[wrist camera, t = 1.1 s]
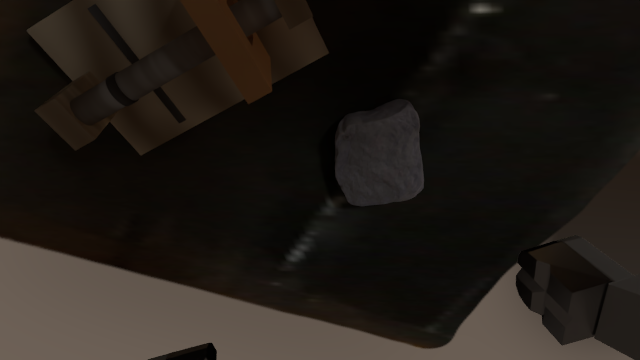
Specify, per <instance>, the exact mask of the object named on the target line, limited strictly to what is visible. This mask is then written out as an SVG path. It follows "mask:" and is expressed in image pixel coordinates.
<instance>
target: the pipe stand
mask: <svg viewBox="0 0 640 360" xmlns="http://www.w3.org/2000/svg"><path fill="white" fill-rule="evenodd" d="M237 1H238V2H237V3H235V4H233V5H231V6H230V7H229V8H230V10H231V12H232V13H233V15H234V17H235V18H236V20H237V22H238V23H239V25H240V27H241V28H242V30H243V32H244V33H245V35H246V37H248V36H250V35H251V34H253V33H255V32H256V34H257V35H258V37H259V39H260V41H261V42H262V44H263V46H264V48H265V49H266V51H267V53H268V55H269V56H270V60H271V78H272V84H273V83H275V82H277V81H279V80H281V79H282V78H284V77H286V76H288V75H290V74H292V73H293V72H295V71H297V70H299V69H301V68H303V67H304V66H306V65H308V64H310V63H312V62H314V61H315V60H317V59H319V58H321V57H323V56H325V55H327V54H328V53H329V52H328V50H327V48H326V46H325V43H324V41H323V39H322V37H321V35H320V33H319V31H318V29H317V27H316V25H315V23H314V20H313V18H312V17H313V14H312V12H311V10H310V8H309V6H308V4H307V2H306V0H237ZM26 31H27V32H28V33H29V34H30V35H31V36H32V37H33V39H34V40H35V41H36V42H37V43H38V44H39V45H40V46H41V47H42V48H43V49H44V51H45V52H46V53H47V54H48V55H49V56H50V57H51V58H52V59H53V60H54V61H55V63H56V64H57V65H58V66H59V67H60V68H61V69H62V70H63V71H64V72H65V73H66V74H67V76H68V77H69V78H70V79H71V80H72V82H71V83H70V84H68V85H67V86H66V87H64V88H63V89H62V90H61V91H59V92H58V93H57V94H55V95H54V96H53V97H51V98H50V99H49V100H47V101H46V102H45V103H44V104H42V105H41V106H40V107H38V108H37V109H36V110H34V111H35V112H36V113H37V114H38V115H39V116H40V117H41V118H42V119H43V120H44V121H45V122H46V123H47V124H48V125H49V126H50V127H51V128H52V129H53V130H55V131H56V132H57V133H58V134H59V135H60V136H61V137H62V138H63V139H64V140H65V141H66V142H67V143H68V144H69V145H70V146H71V147H72V148H73V149H74V150H75V151H76V150H78V149H79V148H81V147H83V146H85V145H86V144H88V143H90V142H92V141H93V140H95V139H96V138H97V137H98V135H99V134H100V133H101V132H102V130H103V129H104V128H105V127H106V126H107V124H108V123H109V122H111V124H112V125H113V126H114V127H115V128H116V129H117V130H118V131H119V132H120V133H121V134H122V136H123V137H124V138H125V139H126V140H127V141H128V142H129V143H130V144H131V145H132V146H133V148H134V149H135V150H136V151H137V152H138V153H139V154H140V155H143V154H145V153H146V152H148V151H150V150H152V149H154V148H156V147H158V146H159V145H161V144H163V143H165V142H167V141H169V140H170V139H172V138H174V137H176V136H178V135H180V134H181V133H183V132H185V131H187V130H189V129H191V128H192V127H194V126H196V125H198V124H200V123H202V122H203V121H205V120H207V119H209V118H211V117H213V116H214V115H216V114H218V113H220V112H222V111H224V110H225V109H227V108H229V107H231V106H233V105H235V104H236V103H238V102H240V101H242V100H244V97H243V95H242V94H241V92H240V91H239V89H238V88H237V86H236V85H235V83H234V82H233V80H232V79H231V77H230V76H229V74H228V73H227V71H226V70H225V68H224V67H223V65H222V63H221V62H220V60H219V59H218V57H217V56H216V54H215V53H214V51H213V50H212V48H211V47H210V45H209V44H208V42H207V41H206V39H205V38H204V36H203V35H202V33H201V32H200V30H199V28H198V27H197V25H196V24H195V22H194V21H193V19H192V18H191V16H190V15H189V13H188V12H187V10H186V9H185V7H184V6H183V4H182V3H181V1H180V0H73V1H71V2H70V3H68V4H67V5H65V6H63V7H62V8H60V9H59V10H57V11H56V12H54V13H52V14H51V15H49V16H48V17H46V18H45V19H43V20H41V21H40V22H38V23H37V24H35V25H34V26H32V27H31V28H29V29H27V30H26Z"/></svg>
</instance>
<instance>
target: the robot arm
mask: <svg viewBox="0 0 640 360" xmlns="http://www.w3.org/2000/svg"><path fill="white" fill-rule="evenodd" d="M517 263H518V264H519V265H520V266H521V267H522V268H521V270H520V271H519V272H518V274H517V275H516V287H517V290H518V293H519V296H520V297H521V298H522V300H523V302H524V303H525V304H526V306H527V307H528V308H529V309H530V310H531V311H533V312H536V313H538V314H540V315H542V323H543V325H544V326H545V327H546V328H547V329H548V330H549V332H550V333H551V334H552V335H553V336H554V337H555V338H556V339H557V341H558V342H559V343H560V344H561V345H565V344H569V343H572V342H576V341H579V340H583V339H586V338H590V337H593V336H595V337H594V338H595V339H597V340H599V341H601V342H602V343H604V344H606V345H608V346H610V347H612V348H614V349H616V350H617V351H619V352H621V353H623V354H625V355H627V356H629V357H631V358H633V359H634V360H640V274H638V275H633V274H631V273H630V272H629V271H627V270H626V269H625V268H623V267H622V266H620V265H619V264H618V263H616V262H615V261H614V260H612V259H611V258H610V257H608V256H607V255H605V254H604V253H603V252H601V251H600V250H599V249H597V248H596V247H595V246H593V245H592V244H591V243H589V242H588V241H587V240H585V239H584V238H582V237H580V236H577V235H574V236H570V237H567V238H564V239H560V240H557V241H553V242H550V243H546V244H543V245H540V246H536V247H533V248H530V249H527V250H523V251H521V252H520V254H519V255H518V262H517ZM216 354H217V351H216V349H215V348H214V346H213V344H212V343H207V344H203V345H199V346H195V347H191V348H188V349H184V350H180V351H176V352H172V353H169V354H166V355H162V356H159V357H155V358H151V359H148V360H216Z"/></svg>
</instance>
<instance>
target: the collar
mask: <svg viewBox="0 0 640 360" xmlns="http://www.w3.org/2000/svg"><path fill="white" fill-rule="evenodd" d="M180 1H181V3H182V4H183V6H184V7H185V9H186V10H187V12H188V13H189V15H190V16H191V18H192V19H193V21H194V22H195V24H196V25H197V27H198V28H199V30H200V32H201V33H202V35H203V36H204V38H205V39H206V41H207V42H208V44H209V45H210V47H211V48H212V50H213V51H214V53H215V54H216V56H217V57H218V59H219V60H220V62H221V63H222V65H223V67H224V68H225V70H226V71H227V73H228V74H229V76H230V77H231V79H232V80H233V82H234V83H235V85H236V86H237V88H238V89H239V91H240V92H241V94H242V95H243V97H244V99H245V100H246V102H247V103H248V104H250V103H252V102H254V101H255V100H257V99H259V98H261V97H263V96H265V95H267V94H268V93H270V92H272V78H271V60H270V56H269V55H268V53H267V51H266V49H265V48H264V46H263V44H262V42H261V41H260V39H259V37H258V35H257V34H256V32H255V33H253V34H251V35H250V36H248V37H246V35H245V33H244V32H243V30H242V28H241V27H240V25H239V23H238V22H237V20H236V18H235V17H234V15H233V13H232V12H231V10H230V8H229V7H230V6H231V5H233V4H235V3H237V2H238V1H237V0H180Z"/></svg>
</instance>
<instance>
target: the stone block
mask: <svg viewBox="0 0 640 360" xmlns="http://www.w3.org/2000/svg"><path fill="white" fill-rule="evenodd" d="M419 129H420V122H419V116H418V114H417V112H416V111H415V110H414V107H413V106H412V104H411V103H410V102H409V101H407V100H405V99H396V100H393V101H390V102H388V103H385V104H383V105H381V106H379V107H377V108H375V109H373V110H370V111H358V112H354V113H349V114H347V115H345V117H344V118H343V119H342V120H341V121H340V123H339V125H338V127H337V131H336V134H335V177H336V180H337V181H338V183H339V185H340V186H341V190H342V191H343V192H344V194H345V197H346V200H347V201H348V202H349V203H350V204H352V205H356V206H368V205H378V204H387V203H390V202H399V201H405V200H409V199H411V198H414V197H415V196H416V195H417V194H418V193H419V192H421V191H422V189H423V188H424V175H423V165H422V158H421V152H420V145H419Z"/></svg>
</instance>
